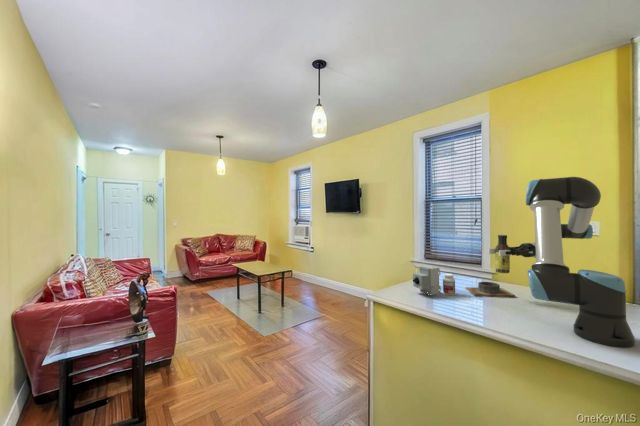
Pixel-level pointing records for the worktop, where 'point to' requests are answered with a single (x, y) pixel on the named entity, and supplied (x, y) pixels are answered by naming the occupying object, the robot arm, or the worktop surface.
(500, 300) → the worktop surface
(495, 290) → the bottle holder
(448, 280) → the pill bottle
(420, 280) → the circuit breaker
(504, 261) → the sauce bottle
